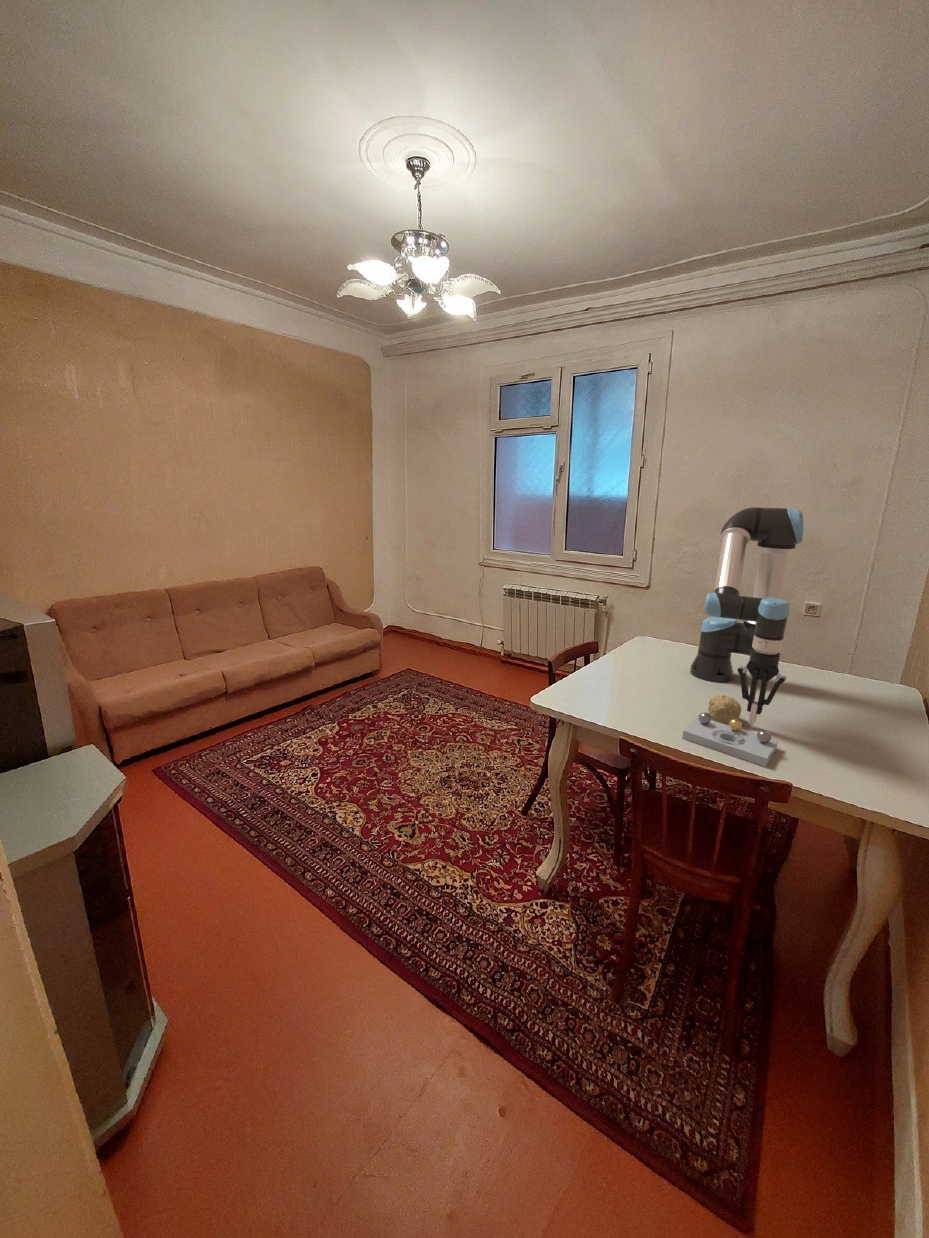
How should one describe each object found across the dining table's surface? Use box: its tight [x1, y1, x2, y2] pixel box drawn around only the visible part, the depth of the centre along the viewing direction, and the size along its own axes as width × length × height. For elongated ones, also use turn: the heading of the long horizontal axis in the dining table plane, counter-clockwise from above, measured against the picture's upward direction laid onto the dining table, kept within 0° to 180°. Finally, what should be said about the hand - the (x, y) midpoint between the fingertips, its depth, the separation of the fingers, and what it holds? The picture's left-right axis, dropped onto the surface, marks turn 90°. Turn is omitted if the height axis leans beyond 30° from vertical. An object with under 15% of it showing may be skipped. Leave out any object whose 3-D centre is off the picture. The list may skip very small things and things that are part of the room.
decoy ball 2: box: [756, 730, 772, 743], centre depth 142 cm, size 4×4×4 cm
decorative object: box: [707, 694, 742, 725], centre depth 161 cm, size 9×10×10 cm
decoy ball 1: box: [698, 712, 711, 724], centre depth 153 cm, size 4×4×4 cm
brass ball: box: [729, 719, 743, 731], centre depth 149 cm, size 4×4×4 cm
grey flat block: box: [682, 715, 779, 768], centre depth 147 cm, size 13×22×2 cm, turn 48°
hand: (752, 721), depth 156 cm, fingers closed
